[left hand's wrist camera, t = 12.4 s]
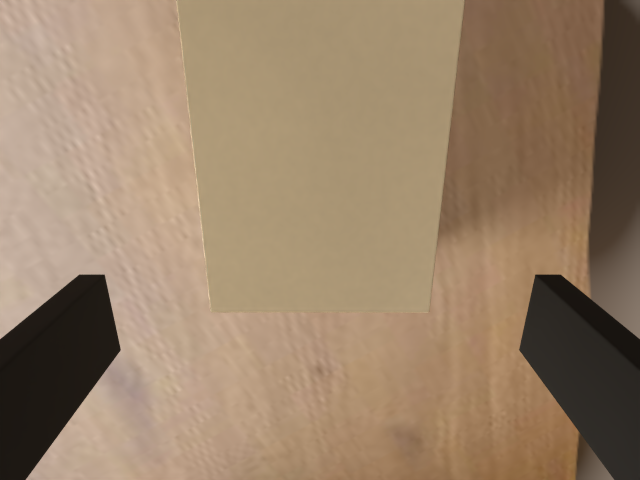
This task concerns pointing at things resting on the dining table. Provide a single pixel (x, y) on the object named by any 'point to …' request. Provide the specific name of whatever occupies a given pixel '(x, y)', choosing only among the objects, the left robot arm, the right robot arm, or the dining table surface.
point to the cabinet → (320, 149)
